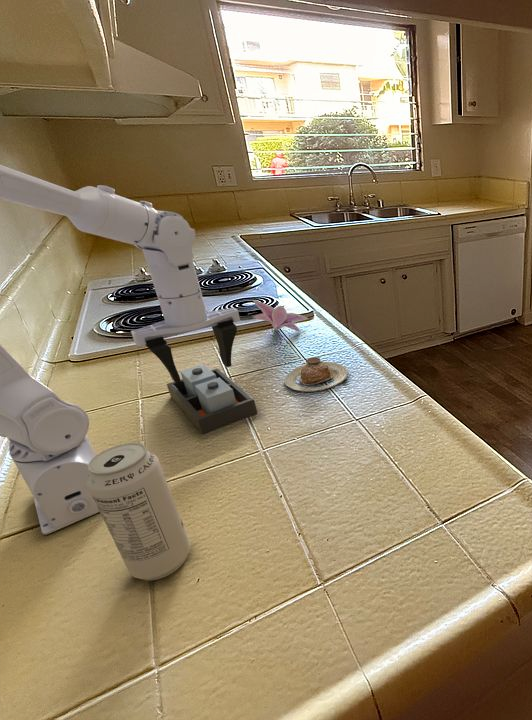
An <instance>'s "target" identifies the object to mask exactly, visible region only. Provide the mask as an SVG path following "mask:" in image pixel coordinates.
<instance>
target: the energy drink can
mask: <svg viewBox="0 0 532 720" xmlns="http://www.w3.org/2000/svg"><path fill="white" fill-rule="evenodd" d="M88 470H89V474H88V478H87V486H88V488H89V491H90V493H91V495H92V497H93V499H94V501H95V503H96V505H97V507H98V509H99V511H100V512H99V513H100V515H101V517H102V519H103V521H104V524H105V526H106V527H107V530H108V531H109V534H110V536H111V538H112V540H113V542H114V544H115V546H116V549H117V550H118V553H119V554H120V556H121V559H122V560H123V562H124V565H125V566H126V568H127V571H128V573H129V574H130V576H131V577H133V578H135V579H140V580H143V581H148V582H149V581H156V580H160V579H163V578H165V577H168V576H170V575H171V574H173V573H175V572H176V571H177V570H178V569H180V568H181V567H182V566H183V564H184V563H185V562H186V560H187V557H188V555H189V554H190V552H191V551H190V550H191V541H190V538H189V536H188V533H187V531H186V528H185V526H184V525H185V524H184V523H183V519H182V518H181V515H180V512H179V509H178V507H177V504H176V502H175V499H174V497H173V494H172V491H171V489H170V486H169V484H168V481H167V478H166V476H165V473H164V471H163V468H162V465H161V463H160V460H159V458H158V457H157V455H155V454H154V453H152V452H151V451H149V450H147V447H146V446H145V445H144V444H142V443H140V442H127V443H122V444H118V445H115V446H111V447H109V448H107V449H105V450H103V451H101V452H99V453H97V454H96V456H95V457H94V458H93V459H92V460H91V461H90V462H89V464H88Z"/></svg>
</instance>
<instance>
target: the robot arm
mask: <svg viewBox="0 0 532 720" xmlns="http://www.w3.org/2000/svg"><path fill="white" fill-rule="evenodd" d="M115 192H116V190H115V188H113V187H110V186H108V185H103V184H102V185H100V184H98V185H96V187H95V186H91V185H86V186H83V187H81V188H79V189H77V190H72V189H69V188H66V187H64V186H60V185H58V184H55V183H52V182H50V181H46V180H44V179H41V178H38V177H36V176H33V175H30V174H27V173H25V172H22V171H19V170H16V169H13V168H10V167H8V166H5V165H2V164H0V200H1V201H3V202H4V201H5V202H8V203H13V204H15V205H16V204H17V205H21V206H25V207H29V208H32V209H37V210H40V211H44V212H49V213H53V214H57V215H61V216H64V217H67V218H68V219H69V221H70V222H71V224H73V226H74V227H75V228H76V229H77V230H79V231H80V232H82V233H86V234H91V235H94V236H98V237H101V238H105V239H110V240H113V241H117V242H120V243H125V244H129V245H133V246H135V247H136V248H137V249H140V250H142V253H143V256H144V259H145V263H146V265H147V269H148V272H149V274H150V278H151V281H152V284H153V287H154V290H155V291H154V292H155V294H156V296H157V300H158V303H159V306H160V310H161V314H162V316H163V319H164V320H162V321H159V322H156V323H152V324H151V325H146V326H144V327H140V328H137V329H135V330H134V329H133V330H130V333H131V336H132V339H133V342H134V344H135V345H136V346H137V347H142V346H145V347H146V348H148V350H149V351H150V352H151V353H152V354H153V355H154V356H156V357H157V358H158V359H159V361H160V362H161V363H162V365H163V366H164V367H165V369H166V370H167V372H168V373H169V376H170V378H171V379H172V382H175V383H178V382H181V377H180V374H179V372H178V370H177V367H176V364H175V361H174V357H173V353H172V348H171V346H170V345H169V344H168V342H167V340H166V339H169V338H172V337H175V336H179V335H180V336H181V335H185V334H188V333H191V332H197V331H199V330H204V329H208V328H211V329H212V332H213V334H214V337H215V340H216V343H217V346H218V351H219V355H220V360H221V362H222V364H223V365H224V366H225V367H226V368H229V367H232V352H233V345H234V341H235V338H236V336H237V333H238V326H237V325H236V324H235V323H238V322H241V317H240V313H239V310H238V309H236V308H235V307H229V308H223V309H216V310H209V311H207V308H206V304H205V300H204V298H203V297H204V296H203V293H202V289H201V285H200V282H199V277H198V275H197V271H196V267H195V264H194V260H193V259H194V258H195V256H194V253H193V246H194V244H195V242H196V230H195V228H192V227H191V226H190V224H189V222H188V221H187V220H186V219H184V216H183V215H181V214H179V213H177V212H174V211H169V210H168V211H167V210H156V209H155V208H154V207H153V203H152V202H150V201H146V200H139V201H136V200H133V199H130V198H127V197H124V196H122V195H118V194H116V193H115ZM89 428H90V418H89V415H88V414H87V412H86V411H85V409H83V408H82V407H80V406H79V405H77V404H74V403H71V402H68V401H66V400H63V399H62V398H61V397H59V396H58V395H57V393H55V391H53V390H52V389H50V388H49V387H48V386H46V385H45V384H44V383H42V382H40V381H39V380H37V379H36V378H35V377H33V376H32V375H31V374H30V373H28V371H26V370H25V368H24V367H23V366H22V365H21V364H20V363H19V362H18V361H17V360H16V359H15V358H14V357H13V356H12V355H11V354H10V352H8V351H7V349H5V348H4V347H3V345H2V344H0V437H3V438H7V439H8V441H9V445H8V451H9V452H8V453H9V455H10V458H11V459H12V461H13V462H14V465H15V466H16V468H17V470H18V471H19V473H20V475H21V477H22V479H23V480H24V483H25V484H26V486H27V488H28V489H29V491H30V493H31V495H32V496H33V497H32V498H33V502H34V506H35V510H36V514H37V518H38V522H39V527H40V530H41V534H42V535H49V534H51V533H54V532H57V531H58V530H61V529H63V528H65V527H68V526H70V525H72V524H74V523H76V522H79V521H81V520H84V519H86V518H88V517H90V516H93V515H96V514H98V513H100V511H99V509H98V507H97V505H96V503H95V501H94V499H93V497H92V495H91V493H90V491H89V488H88V486H87V478H88V474H89V470H88V464H89V462H90V461H91V460H92V459H93V458H94V457H95V456H96V455H97V454H96V452H95V450H94V448H93V447H94V446H93V445H92V444H91V441H90V438H89V437H88V431H89Z"/></svg>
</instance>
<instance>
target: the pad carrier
mask: <svg viewBox="0 0 532 720" xmlns="http://www.w3.org/2000/svg"><path fill="white" fill-rule="evenodd" d="M210 370H211V371H212V372H213V373H214V374H215V375H216V377H217V378H221V379H222V380H223V381H224V382H225V383H226V384H227V385H228V386H229V387H231V388H232V389H233V393H234V396H235V400H236V404H234V405H231V406H228V407H226V408H223V409H220V410H218V411H215V412H212V413H209V414H207V415H206V414H205V413H204V411H203V410H202V408H201V404H200V401H199V398H198V395H194V396H191V397H189V396H188V394H187V391H186V388H185V385H184V382H183V378H180V380H181V382H178V383H175V382H174V381H172V382H169V383H166V386H167V389H168V393H169V395H170V398H171V399H172V400H173V402H174V403H175V404H176V405H177V407H179V409H180V410H181V411H182V412H183V413H184V415H185V416H186V417H187V419H189V421H190V422H191V423H192V424H193V425H194V426H195V428H196V429H197V430H198V431H199V432H200V433H201V435H202V436H204V435H207V434H209V433H211V432H214V431H216V430H220V429H221V428H224V427H227V426H229V425H232V424H234V423H237V422H239V421H242V420H244V419H247V418H250V417H252V416H255V415H257V414H258V409H257V405H256V402H255V399H254V398H253V397H252V396H251V395H249V394H248V393H247V392H246V391H245V390H244V389H243V388H241V386H239V385H238V384H237V383H236V382H235V381H233V380H232V379H231V378H230V376H228V375H226V374H225V372H223V371H222V370H221V369H220V368H218V367H217V368H214V369H210Z"/></svg>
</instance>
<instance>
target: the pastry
mask: <svg viewBox="0 0 532 720" xmlns="http://www.w3.org/2000/svg"><path fill="white" fill-rule="evenodd" d="M348 375H349V370H348V368H347V367H345V366H344V365H343V364H341V363H338V362H334V361H323V360H321V358H319V357H317V356H316V357H315V356H314V357H309V358H307V359H306V360H305V364H302V365H300V366H297V367H295V368H294V369H292V370H291V371H289V372H288V373H287V374H286V376H285V377H284V380H283V382H284V384H285V386H286V387H287V388H289V389H291V390H293V391H296V392H304V393H313V392H318V391H319V392H320V391H321V392H322V391H324V390H327V389H330V388H333V387H335V386H338V385H339V384H340V385H341V384H342V383H343V382H345V380H346V379H347V377H348ZM298 377H299V378H298ZM297 379H298V380H299V382H300V383H301V384H302V385H304V386H314V385H317V384H321V383H324V382H328V381H331V379H333V380H334V381H333V382H331V383H329V384H325V385H324V386H319V387H303V386H300V385H299V384H297V381H296V380H297Z"/></svg>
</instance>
